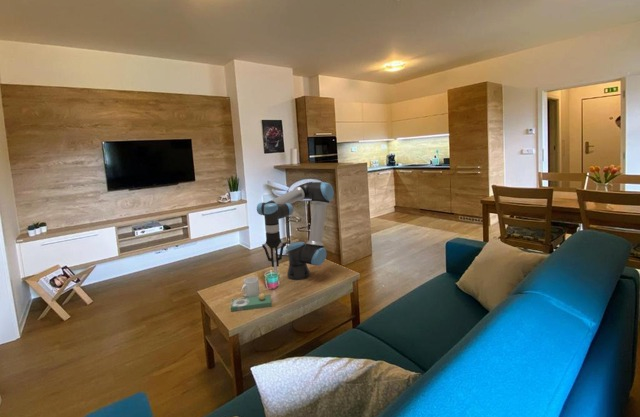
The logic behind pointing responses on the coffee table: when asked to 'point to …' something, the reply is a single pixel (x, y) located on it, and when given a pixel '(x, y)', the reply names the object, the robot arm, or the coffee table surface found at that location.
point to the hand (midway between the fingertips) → (275, 271)
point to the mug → (251, 287)
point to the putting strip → (250, 303)
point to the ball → (261, 296)
